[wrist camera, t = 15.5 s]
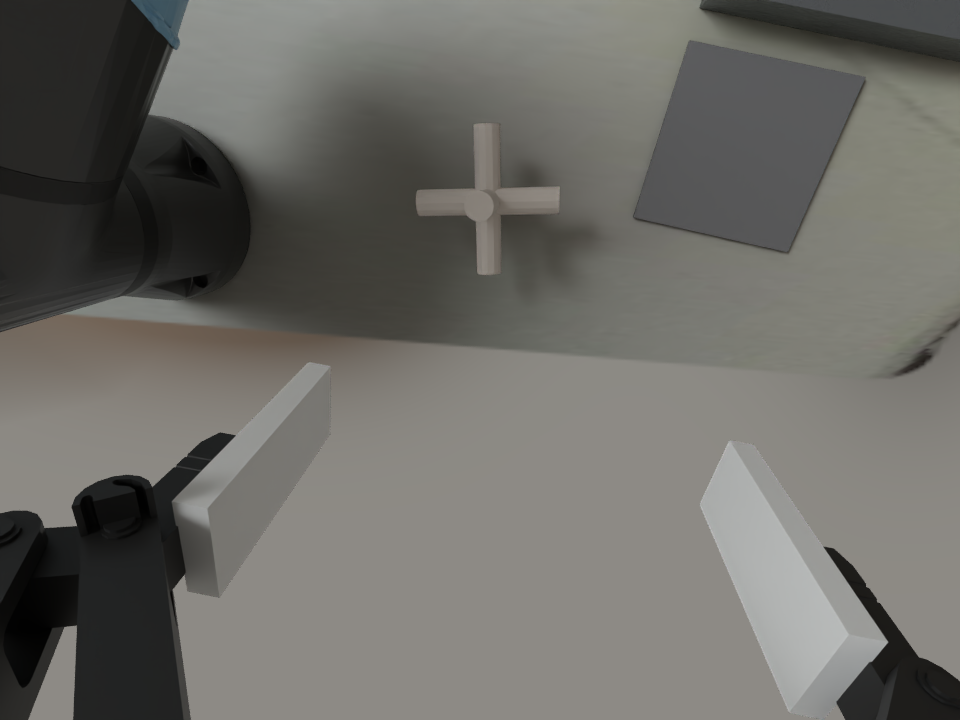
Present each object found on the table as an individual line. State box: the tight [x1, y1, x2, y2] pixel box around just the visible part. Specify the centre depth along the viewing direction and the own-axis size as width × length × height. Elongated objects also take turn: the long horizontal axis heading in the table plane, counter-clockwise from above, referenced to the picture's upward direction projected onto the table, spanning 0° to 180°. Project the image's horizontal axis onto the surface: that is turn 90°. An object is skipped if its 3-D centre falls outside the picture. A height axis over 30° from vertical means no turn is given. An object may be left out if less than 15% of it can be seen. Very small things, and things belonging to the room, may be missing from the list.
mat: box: [633, 41, 865, 252], centre depth 35 cm, size 12×12×1 cm
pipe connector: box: [416, 123, 560, 275], centre depth 34 cm, size 10×10×10 cm
